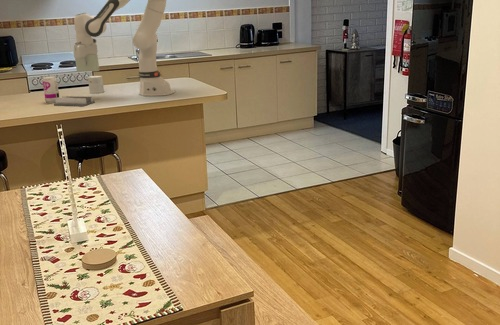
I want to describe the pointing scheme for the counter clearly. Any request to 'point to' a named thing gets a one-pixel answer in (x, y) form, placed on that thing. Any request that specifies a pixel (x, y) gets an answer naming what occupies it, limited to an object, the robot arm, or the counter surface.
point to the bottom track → (74, 101)
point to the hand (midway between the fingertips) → (87, 64)
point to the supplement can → (50, 89)
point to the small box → (96, 84)
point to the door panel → (88, 63)
